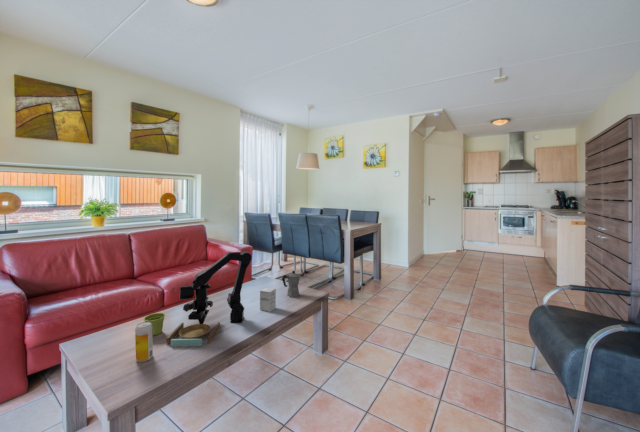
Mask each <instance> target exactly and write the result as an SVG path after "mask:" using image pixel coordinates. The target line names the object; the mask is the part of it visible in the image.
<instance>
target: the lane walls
mask: <svg viewBox="0 0 640 432" xmlns="http://www.w3.org/2000/svg"><path fill="white" fill-rule="evenodd" d="M184 326H185V324H184V322H181V323H180V324H179V325H178V326H177V327H176V328H175V329H174V330H173V331H172V332H171V333H170V334H168V335H167V336H166V338H165V343H166V345H169V344H171V339H176V337H177V336H178V335H179V332H180V330H182V329H183V328H185V327H184ZM220 328H221V322H217V324H215V326H214V327H213V329H212V331H210V332H209V334H208V336H207V339H206V340H207V344H211V342H212V341H213V339H214V338H215V336H216V335H217V333H218V331H220Z"/></svg>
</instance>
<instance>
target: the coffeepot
mask: <svg viewBox="0 0 640 432" xmlns="http://www.w3.org/2000/svg"><path fill="white" fill-rule="evenodd" d="M302 275H303V274H302V273H295V271H294V270H292V273H288V274H287V273H286V274H285V275H283V276H282V278H281V280H282V283H283V286H284V287H288V288H287V294H286V296H287V297H288V296H289V297H288V298H292V297H294V298H298V297H300V289H299V282H300V277H301V276H302ZM285 279H287V281H288V284H287V283H286V280H285ZM297 296H298V297H297Z"/></svg>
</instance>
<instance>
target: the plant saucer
mask: <svg viewBox="0 0 640 432" xmlns="http://www.w3.org/2000/svg"><path fill="white" fill-rule="evenodd" d="M211 329H212V327H211V326H210V325H209V324H207V323H203V324H200V323H196V324H191V325H188V326H185V327H184V328H183V329H182V330H180V332H179V334H178V335H179V336H180V337H181V339H203V338H205V337H206V336H207V335H209V334H210V332H211Z"/></svg>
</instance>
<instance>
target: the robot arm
mask: <svg viewBox="0 0 640 432" xmlns="http://www.w3.org/2000/svg"><path fill="white" fill-rule="evenodd" d="M231 261H236V262H238V268H237V273H236V276H235V281H234V285H233V289H232V291H231V293H228V294H227V295H228V296H227V298H226V301H227V305H228V306H229V308H230V309H231V310H230V313H229V317H230V318H229V319H230V320H229V321H230V323H232V324H235V323H237V324H238V323H240V324H241V323H243V321H244V319H245V316H244V314H245V313H244V312H245V311H244V310H245V306H244V305H243V304H242V302H241V301H242V300H241V291H242V287H243V284H244V279H245V275H246V272H247V269H248V267H249V265H250V263H251V261H252V255H251V254H250V253H249V252H248V251H246V250H243V251H241V252H239V251H235V252H233V251H227V252H226V253H225V254H224V255H223V256H221V258H219V259H218V260H216V262H214V263H213V264H212V265H210V266H209V267H208V268H206V269H202V270H201V271H199V272H198V273H196V274H195V276H194V279H193V281H192V282H191V284H190V285H182V286H179V300H180V301H182V300H189V299H193V298H194V296H195V299H194V300H193V301H190V302H187V303H185V304H184V305H183V309H182V310H183V311H184V312H189V311H191V310H193V311H191V313H189V315H187V316H188V318H187V319H188V320H190V321H193V320H194V321H197V320H198V324H205V321H206V319H207V316H208V314H209V312H210V309H208V308H209V307H210V308H212V307H213V306H214V302H213V301H212V300H209V296H208V289H211V288H212V286H211V285H210V283H208V282H209V281H210V280H211V278H212V277H213V276H214V274H216V273H217V272H218V271H219V270H221V269H222V268H224V267H225V266H226V265H227V264H228V263H229V262H231Z"/></svg>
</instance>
